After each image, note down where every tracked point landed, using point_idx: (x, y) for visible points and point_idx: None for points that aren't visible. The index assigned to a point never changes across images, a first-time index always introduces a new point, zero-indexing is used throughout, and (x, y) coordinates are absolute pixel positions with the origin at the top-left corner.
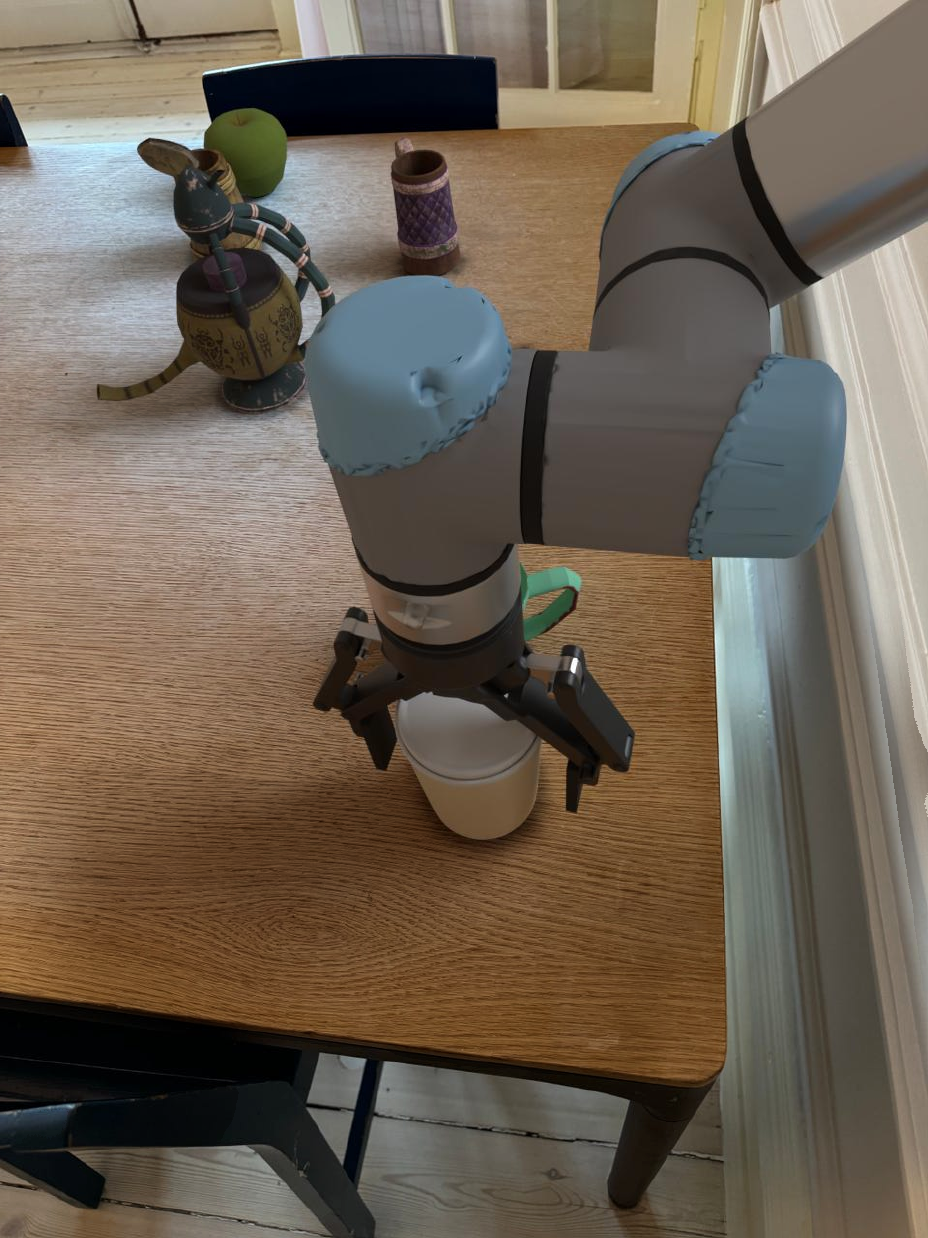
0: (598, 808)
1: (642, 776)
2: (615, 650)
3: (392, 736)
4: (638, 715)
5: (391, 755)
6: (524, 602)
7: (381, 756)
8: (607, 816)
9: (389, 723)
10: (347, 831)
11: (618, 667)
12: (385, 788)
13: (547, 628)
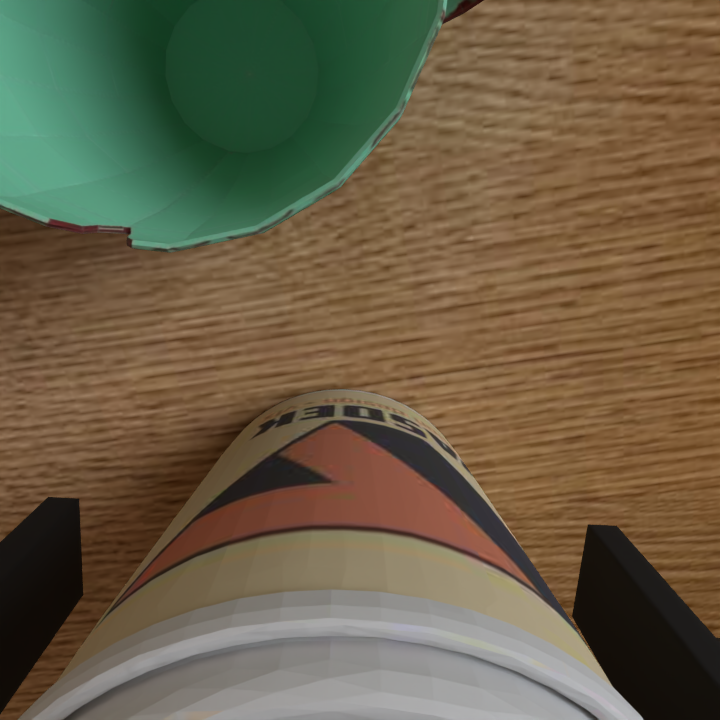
0: (611, 509)
1: (715, 418)
2: (657, 27)
3: (54, 550)
4: (715, 249)
5: (79, 553)
6: (444, 7)
7: (41, 649)
8: (632, 523)
9: (15, 585)
10: (56, 646)
11: (665, 93)
12: (105, 542)
13: (465, 3)
